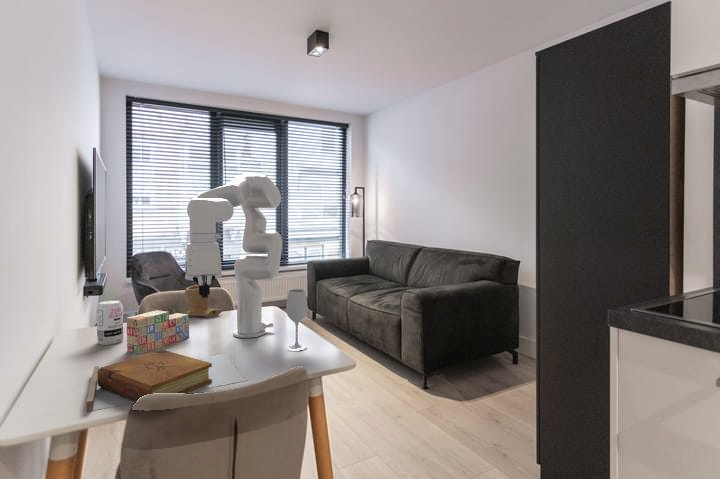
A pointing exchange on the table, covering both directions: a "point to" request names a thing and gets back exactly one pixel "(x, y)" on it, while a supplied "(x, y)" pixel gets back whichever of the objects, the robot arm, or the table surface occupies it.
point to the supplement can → (109, 322)
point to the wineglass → (296, 309)
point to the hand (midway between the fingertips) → (204, 297)
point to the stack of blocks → (155, 330)
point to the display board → (220, 374)
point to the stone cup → (199, 303)
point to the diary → (154, 375)
